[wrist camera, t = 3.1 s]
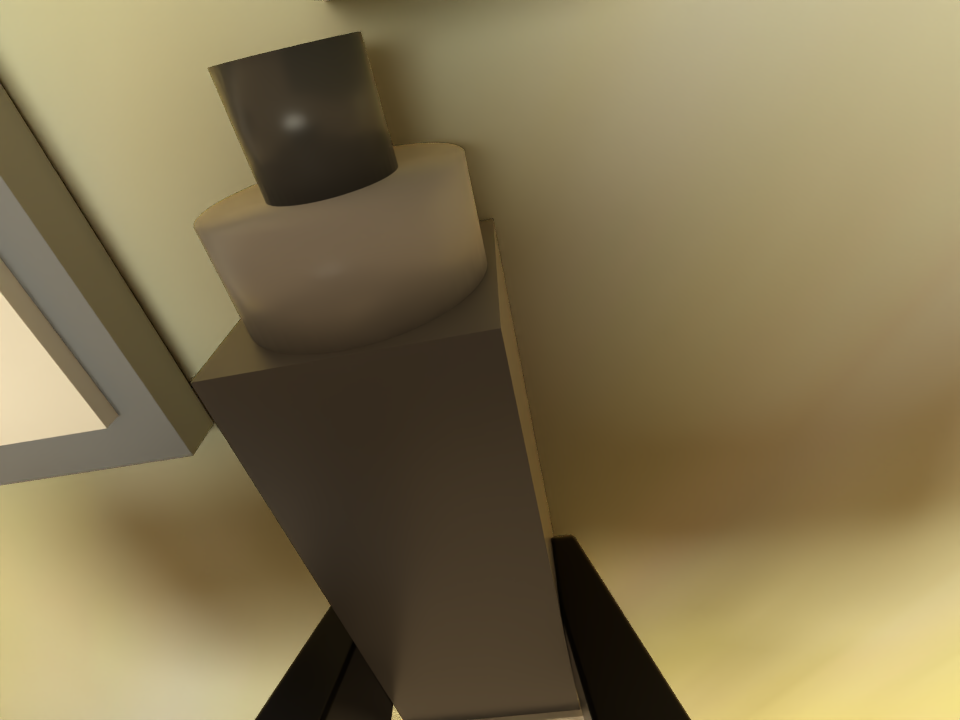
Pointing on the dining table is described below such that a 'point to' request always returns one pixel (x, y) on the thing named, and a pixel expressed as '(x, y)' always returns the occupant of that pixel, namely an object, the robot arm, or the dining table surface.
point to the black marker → (384, 390)
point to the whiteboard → (75, 338)
